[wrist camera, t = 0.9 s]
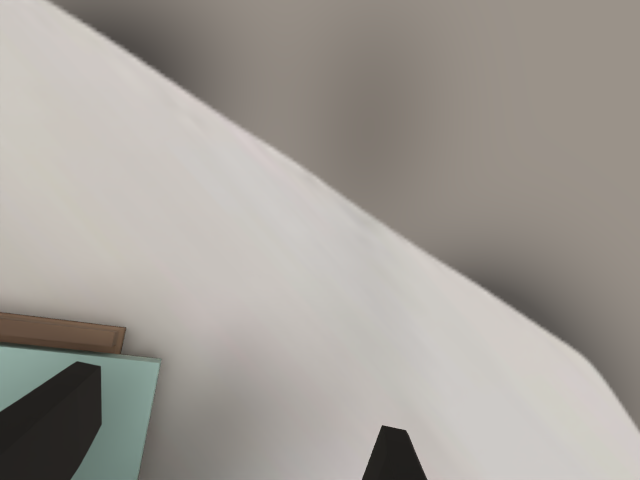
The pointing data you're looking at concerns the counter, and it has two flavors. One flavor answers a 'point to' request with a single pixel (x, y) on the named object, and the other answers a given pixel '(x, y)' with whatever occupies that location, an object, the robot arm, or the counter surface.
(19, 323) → the walnut box
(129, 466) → the cover plate
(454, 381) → the counter surface
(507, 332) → the counter surface
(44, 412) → the robot arm
